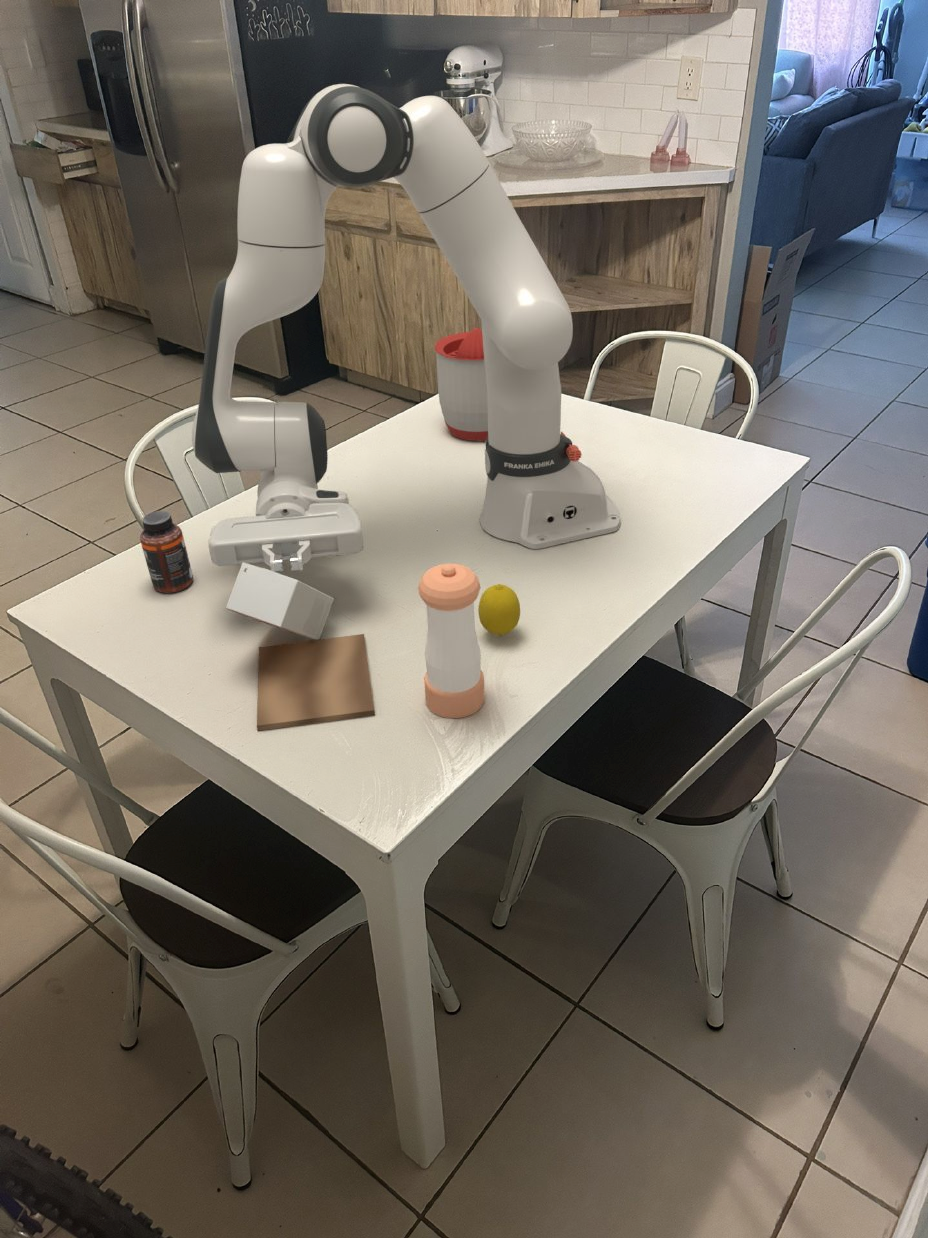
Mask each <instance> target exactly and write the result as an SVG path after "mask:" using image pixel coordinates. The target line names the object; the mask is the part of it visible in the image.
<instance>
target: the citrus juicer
mask: <svg viewBox="0 0 928 1238" xmlns="http://www.w3.org/2000/svg"><path fill="white" fill-rule="evenodd" d="M433 348H434V351H435V355H436V374H437V391H438V399H439V403H440V404H439V405H440V410H441V413H442V415H443V419H444V423H445V426H446V427H447V429H448V431H449V433H450V434H451V435H453V436H454V437H456V438H459V439H461V440H467V441H480V442H486V439H487V437H488V403H487V383H486V373H485V362H484V350H483V337H482V329H480V328H478V327H474V328H473V329H472V330H471V331H464V332H459V333H458V332H457V333H454V334H450V335H447V336H445V337H442V338H440V339H439V340H437V341H436V343H435V344H434V347H433Z"/></svg>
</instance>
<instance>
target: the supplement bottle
mask: <svg viewBox="0 0 928 1238" xmlns="http://www.w3.org/2000/svg"><path fill="white" fill-rule="evenodd" d="M141 521H142V525H143V530H142V531H141V533H140V536H139V540H140V544H141V548H142V552H143V555H144V559H145V562H146V566H147V570H148V574H149V578H150V580H151V583H152V586H153V587H152V588H154V589H155V590H156V591H158V592H160V593H164V594H169V593H178V592H180V591H183V590H185V589H187V588H188V587H190V585H191V584H192V583H193V580H194V575H193V570H192V567H191V563H190V559H189V558H190V557H189V555H188V550H187V546H186V542H185V539H184V535H183V531H182V528H181V527H180V526H179V525H178V524H176V523H174V522H173V519H172V515H171V513H170V512H168V511H165V510H157V511H152V512H149V513H148V514H146V515H144V516H143V517H142V520H141Z"/></svg>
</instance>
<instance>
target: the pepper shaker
mask: <svg viewBox="0 0 928 1238" xmlns="http://www.w3.org/2000/svg"><path fill="white" fill-rule="evenodd" d="M417 590H418V591H417V592H418V594H419V596H420V598H421V600H422V601H423V603H424V604H425V605H426V617H427V620H426V621H427V634H426V641H425V650H424V657H425V658H424V660H425V667H426V672H425V674H424V677H423V680H424V682H423V683H424V695H425V704H426V707H427V708H428V709H429V711H431V712H432V713H433V714H435V715H437V716H440V717H441V718H442V717H443V718H448V719H461V718H465V717H469V716H472V715H473V714H475V713H477V711H479V710H480V709H481V708H482V706H483V705H484V702H485V699H486V698H485V677H484V671H482V666H481V663H482V660H481V659H482V657H481V656H482V654H481V649H480V644H479V640H478V635H477V630H476V621H475V601H476V600H477V598H478V597H479V593H480V591H481V583H480V579H479V577H478V576H477V575H476V573H475V572H473V570H472V569H471V568H469V567H467V566H466V565H462V564H458V563H444V564H443V563H442V564H438V565H435V566H433V567H431V568H428V570H427V571H425V572H424V573H423V575H422V576H421V577H420V580H419V582H418V586H417Z"/></svg>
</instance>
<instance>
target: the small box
mask: <svg viewBox="0 0 928 1238" xmlns="http://www.w3.org/2000/svg"><path fill="white" fill-rule="evenodd" d="M334 599H335V598H333V597H332V596H329V595H327V594H326V593H324V592H321V591H320V590H319V589H316V588H314V587H311V586H310V585H308V584H306V583H304V582H303V581H301V580H298V579H296V578H292V577H290V576H287V575H284V574H281V573H280V572H277V573H276V572H273V571H271V569H267V568H265V567H260V566H257V565H253V564H252V563H249V564H248V563H244V562H243V563H242V564H240V569H239V571H238V574H237V577H236V579H235V582H234V584H233V587H232V590H231V593H230V596H229V598H228V602H227V604H226V606H225V609H226V610H228V611H231V612H234V613H237V614H239V615H242V616H244V617H246V618H250V619H253V620H256V621H258V622H261V623H264V624H266V625H269V626H271V627H272V626H273V627H276V628H278V629H281V630H284V631H287V632H290V633H293V634H297V635H299V636H302V637H304V638H305V637H306V638H308V639H311V640H319V639H320V638H321V635H322V632H323V630H324V628H325V625H326V621H327V619H328V618H329V617H328V616H329V614H330V611H331V608H332V605H333V602H334Z"/></svg>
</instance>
